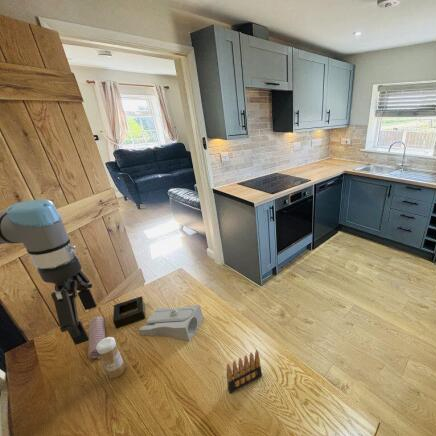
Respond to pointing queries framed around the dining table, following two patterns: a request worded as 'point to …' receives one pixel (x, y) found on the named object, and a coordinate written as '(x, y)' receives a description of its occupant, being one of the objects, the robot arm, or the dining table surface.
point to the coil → (95, 336)
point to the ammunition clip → (241, 377)
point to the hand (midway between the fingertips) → (87, 323)
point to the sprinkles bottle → (111, 357)
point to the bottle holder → (130, 317)
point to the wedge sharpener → (174, 322)
